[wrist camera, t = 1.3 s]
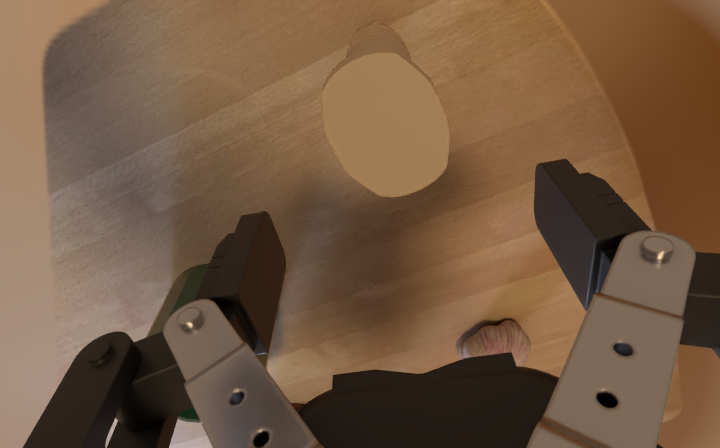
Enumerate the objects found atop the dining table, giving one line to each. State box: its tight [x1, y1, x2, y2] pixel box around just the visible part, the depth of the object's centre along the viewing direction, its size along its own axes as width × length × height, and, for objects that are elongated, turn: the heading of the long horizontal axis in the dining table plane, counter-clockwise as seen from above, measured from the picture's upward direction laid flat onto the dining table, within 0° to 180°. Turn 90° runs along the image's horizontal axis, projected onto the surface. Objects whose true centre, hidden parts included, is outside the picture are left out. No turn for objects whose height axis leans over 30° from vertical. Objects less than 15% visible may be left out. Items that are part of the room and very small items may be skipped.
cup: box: [146, 264, 278, 423], centre depth 41 cm, size 11×11×10 cm
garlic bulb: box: [459, 320, 531, 367], centre depth 45 cm, size 8×7×8 cm
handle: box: [322, 21, 450, 197], centre depth 24 cm, size 5×6×15 cm
